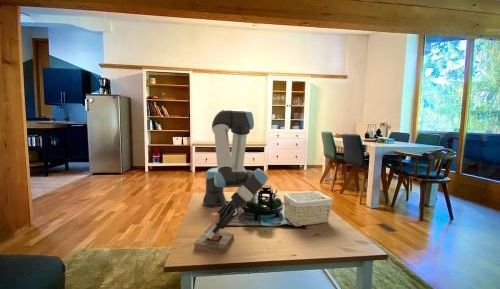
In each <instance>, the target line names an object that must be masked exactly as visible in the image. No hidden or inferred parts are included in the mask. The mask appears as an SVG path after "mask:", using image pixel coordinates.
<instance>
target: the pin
mask: <svg viewBox="0 0 500 289" xmlns="http://www.w3.org/2000/svg"><path fill="white" fill-rule="evenodd" d="M219 221H220V214H219V213H217V212H213V213H211V214H210V223H211V229H212V228H213V226H214V225H215V224H216V223H217V224H218V222H219ZM219 231H220V229H219V230H218V231H217V232H216V233H215V234H214V236H213V237H212V238H211V241H215V242H219Z"/></svg>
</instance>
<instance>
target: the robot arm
mask: <svg viewBox="0 0 500 289" xmlns="http://www.w3.org/2000/svg"><path fill="white" fill-rule="evenodd" d="M254 120H255V119H254V115H253V112H252V111H251V110H249V109H237V108H236V109H232V108H230V109H229V108H226V109H222V110H220V111H219V112H218V113H216V115H215V116H214V118H213V120H212V123H211V131H212V133H213V134H214V144H215V155H216V167H211V168H209V169H208V170H206V171H205V193H204V196H203V198H202V199H203V200H202V205H204V207H208V208H219V209H218V211H217V212H216V213H219V214H220V221H219V222H218V224H217V223H216V224H215V225H214V226H213V228H212V229H211V222H210V223H209V224H208V225H207V226H206V227H205V229H204V230H203V233H204V232H205V233H207V234H206V236H207V237H208V238H209V239H211V238H212V237H213V236H214V234H215V233H216V232H217V231H218V230H219V231H220V229H222V230H224V229H225V228H227V226H228V224H230V223H231V221H232V220H234V218H236V217H237V216H238V215H239V212H238V210H239V208H241V209H243V208H244V207H245V206H246V205H247V202H249V201H250V200H251V199H252V198H253V197H254V196H255V195H256V194H257V193H258V192H259V190H261V188H263V186H264V185H265V184H266V183H267V181H269V176H268V174H266V173H265V172H264V171H263V170H262V169H260V168H256V169H255V170H254V171H253V170H252V169H251V170H250V169H246V168H245V166H244V164H245V163H244V161H245V156H246V155H245V154H246V153H245V152H246V147H247V146H246V144H247V138H248V135H249V134H250V133H251V132H250V131H251V130H254V126H255V124H254V123H255V122H254ZM229 130H230V132H231V133H232V140H231V141H232V142H231V147H230V140H229ZM227 188H228V189H229V188H238V189H237V190H236V191H235V192H234V193H233V194H232V195H231V197H230V199H231V200H230V201H228V200H227V199H226V195H225V193H224V189H227Z"/></svg>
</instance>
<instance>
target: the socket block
mask: <svg viewBox="0 0 500 289" xmlns="http://www.w3.org/2000/svg"><path fill="white" fill-rule="evenodd" d="M206 234H207V233H205V232H204V231H203V233H202V234H201V235H200V236H199V237H198V239H196V240H195V242H194V243H193V245H194V246H193V248H194V249H193V250H195V251H202V252H208V253H213V254H218V255H225V254H226V252H227V250H228V249H229V247H230V246H231V245H232V242H233V241H234V240H235V233H233V232H227V231H222V230H221V231H220V230H219V242H215V241H211V239H209V238H208V237H207V236H206Z"/></svg>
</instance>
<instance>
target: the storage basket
mask: <svg viewBox="0 0 500 289" xmlns="http://www.w3.org/2000/svg"><path fill="white" fill-rule="evenodd" d="M283 206H284V207H283V208H284V209H283V211H284V212H283V216H285V217H286V218H287V219H288V220H289V223H291V224H292V225H293V226H294V227H301V226H302V225H304V226H308V225H318V224H324V223H325V224H326V223H328V222H329V218H330V213H331V209H332V206H333V198H332V197H330V196H328V195H327V194H324V193H322V192H321V191H318V190H311V191H309V190H308V191H300V192H299V191H297V192H294V191H293V192H288V193H284V194H283ZM285 217H284V218H285ZM286 218H285V219H286ZM287 219H286V220H287ZM288 220H287V221H288ZM302 227H303V226H302Z"/></svg>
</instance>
